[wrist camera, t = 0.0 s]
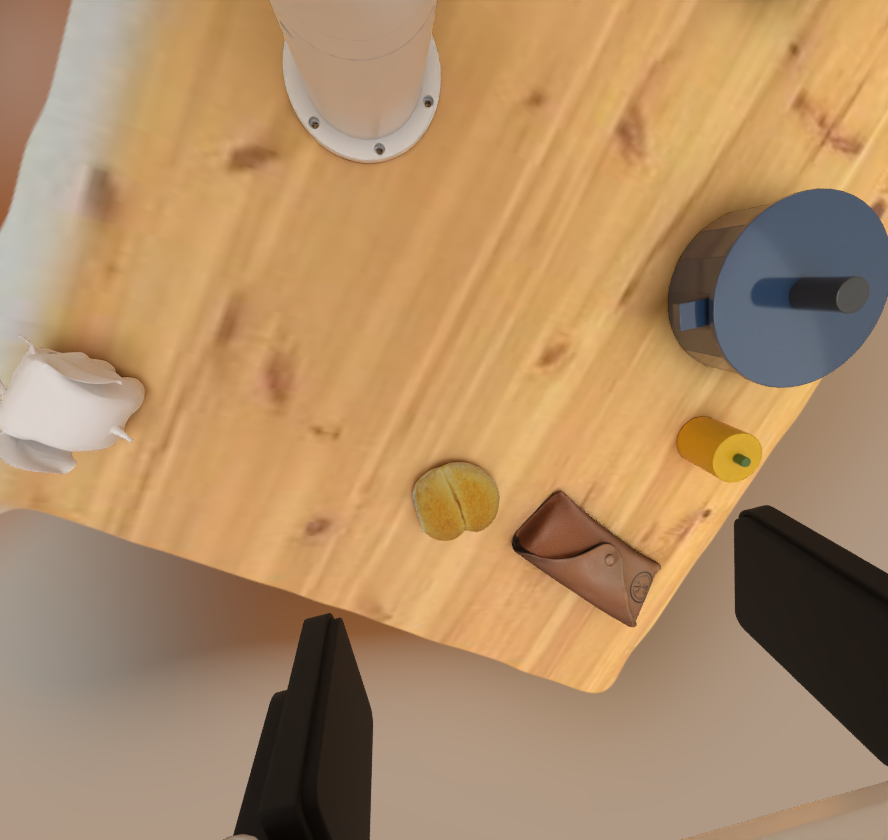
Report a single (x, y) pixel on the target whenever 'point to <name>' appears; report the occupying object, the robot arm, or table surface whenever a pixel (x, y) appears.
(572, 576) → the sunglasses case
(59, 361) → the elephant figurine
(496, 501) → the bread roll
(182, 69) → the table surface
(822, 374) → the lid
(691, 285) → the pan
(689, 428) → the yellow cylinder with peg
